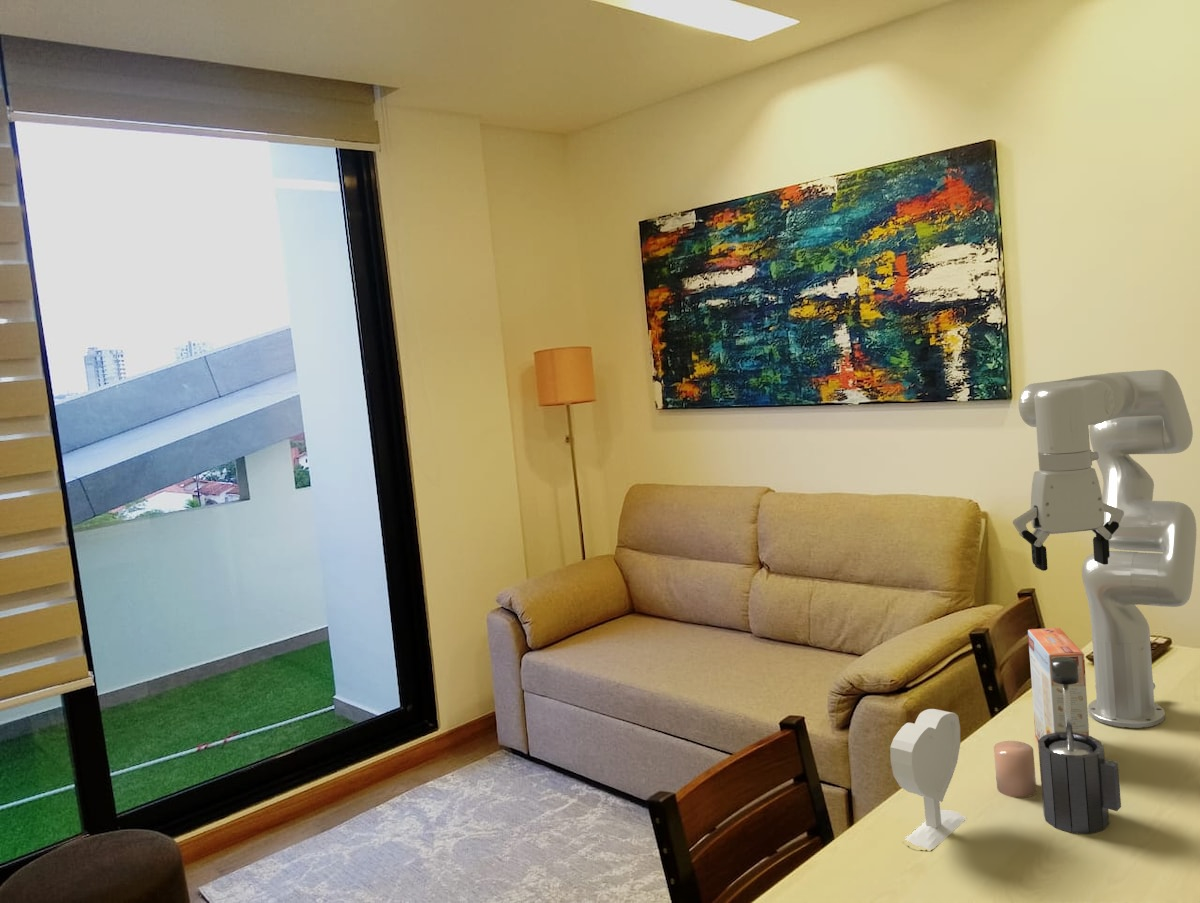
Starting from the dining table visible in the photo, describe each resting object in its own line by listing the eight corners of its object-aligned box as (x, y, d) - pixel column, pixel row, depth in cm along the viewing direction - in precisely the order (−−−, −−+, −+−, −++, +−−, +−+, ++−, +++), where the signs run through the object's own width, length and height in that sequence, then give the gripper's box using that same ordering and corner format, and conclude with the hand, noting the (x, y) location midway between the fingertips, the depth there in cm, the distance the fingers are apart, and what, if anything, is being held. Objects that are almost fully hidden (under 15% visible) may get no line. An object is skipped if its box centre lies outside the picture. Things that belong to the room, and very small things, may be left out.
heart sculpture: (925, 857, 138) (914, 742, 136) (894, 847, 141) (883, 735, 139) (972, 812, 148) (962, 705, 146) (942, 804, 152) (932, 699, 150)
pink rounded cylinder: (1007, 776, 158) (1003, 737, 157) (1042, 786, 153) (1039, 746, 153) (990, 791, 154) (987, 751, 153) (1026, 801, 150) (1023, 760, 149)
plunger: (1058, 740, 146) (1052, 651, 144) (1099, 750, 141) (1092, 658, 140) (1042, 755, 142) (1035, 664, 140) (1083, 765, 137) (1076, 671, 136)
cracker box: (1094, 771, 156) (1085, 652, 154) (1056, 772, 157) (1046, 654, 155) (1069, 735, 169) (1061, 625, 167) (1034, 737, 171) (1025, 627, 168)
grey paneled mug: (1058, 798, 149) (1053, 727, 148) (1131, 818, 141) (1126, 743, 140) (1034, 821, 143) (1028, 748, 142) (1109, 844, 135) (1103, 766, 134)
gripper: (1106, 454, 153) (1113, 555, 154) (1001, 465, 153) (1008, 566, 155) (1131, 458, 145) (1137, 565, 147) (1020, 470, 146) (1027, 576, 148)
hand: (1071, 565), depth 151 cm, fingers open, 9 cm apart
